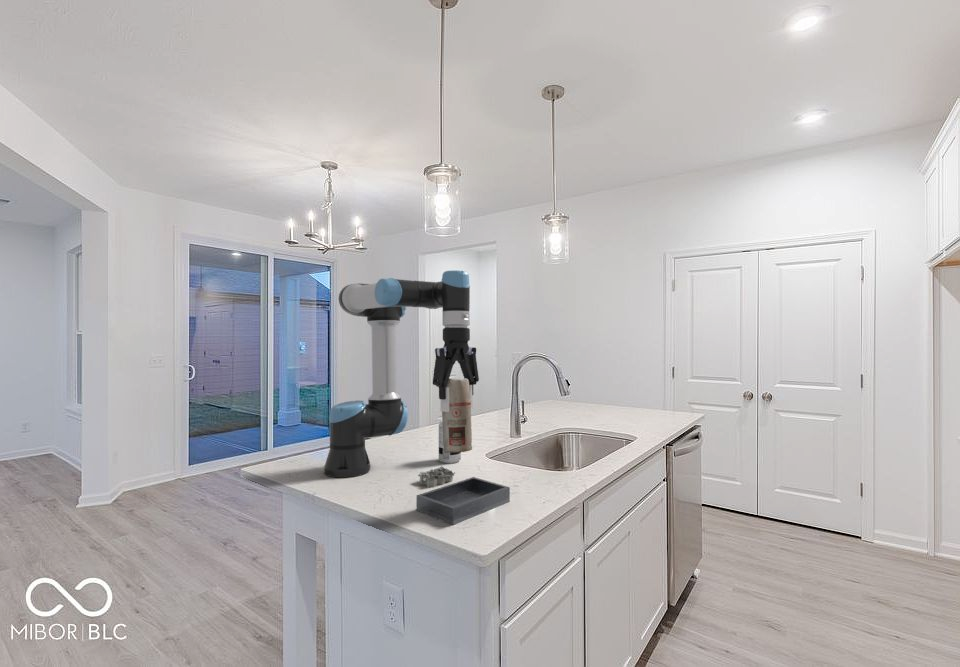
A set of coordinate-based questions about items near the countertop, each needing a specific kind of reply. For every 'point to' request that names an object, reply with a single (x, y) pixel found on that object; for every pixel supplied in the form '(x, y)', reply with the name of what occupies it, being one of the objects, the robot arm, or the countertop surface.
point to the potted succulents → (436, 477)
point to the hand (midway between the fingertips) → (456, 409)
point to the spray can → (457, 418)
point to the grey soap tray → (462, 500)
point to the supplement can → (446, 456)
